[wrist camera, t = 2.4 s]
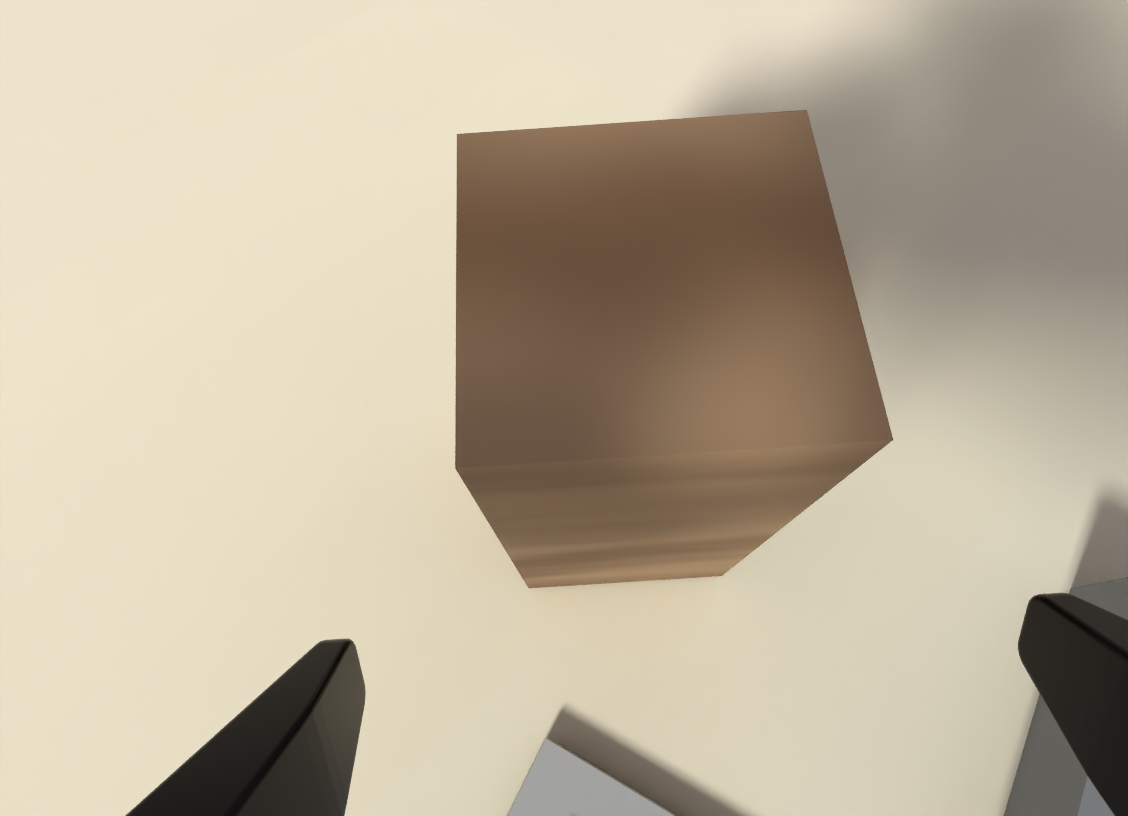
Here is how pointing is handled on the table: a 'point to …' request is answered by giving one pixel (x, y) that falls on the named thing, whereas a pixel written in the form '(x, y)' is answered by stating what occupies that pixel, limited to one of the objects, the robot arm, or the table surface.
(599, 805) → the tile
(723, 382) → the walnut pillar
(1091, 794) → the slate block
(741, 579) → the table surface
